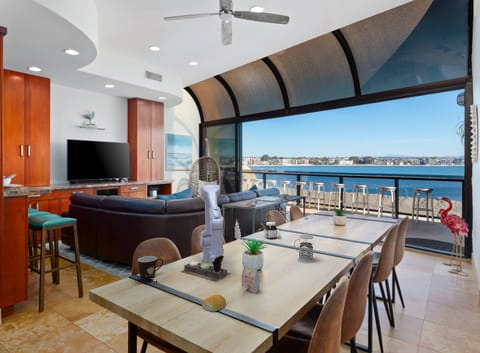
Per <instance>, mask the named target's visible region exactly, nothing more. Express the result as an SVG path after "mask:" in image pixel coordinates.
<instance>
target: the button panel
mask: <svg viewBox="0 0 480 353" xmlns="http://www.w3.org/2000/svg"><path fill="white" fill-rule="evenodd" d="M201 264H202V263H200V262H198V266H196V267H191V266H189V263H187V264H185V265H183V269H182V270H180V271H179V272H180V273H182V274H187V275H190V276H194V277H197V278H201V279H205V280H209V281H212V282H214V283H215V282H218V281H220V280H222V279H224V278H226V277H228V276H229V275H231V274H232V273H230V272H228V269H226V268H225V269H224V268H220V270H221V271H222V272H220V273H215V272H213V271H214V267H213V265H210V268H209V269H207V270H203V269H201Z"/></svg>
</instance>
